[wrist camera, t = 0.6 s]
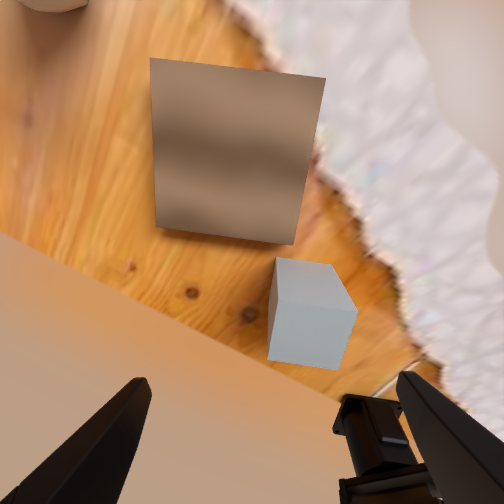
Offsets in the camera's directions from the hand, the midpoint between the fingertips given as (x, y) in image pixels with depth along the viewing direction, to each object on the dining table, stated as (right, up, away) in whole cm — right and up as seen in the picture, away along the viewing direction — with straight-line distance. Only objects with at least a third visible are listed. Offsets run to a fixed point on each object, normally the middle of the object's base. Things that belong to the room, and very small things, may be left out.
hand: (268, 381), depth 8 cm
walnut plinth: (-2, +12, +10) cm, 15 cm away
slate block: (+4, +2, +14) cm, 14 cm away
